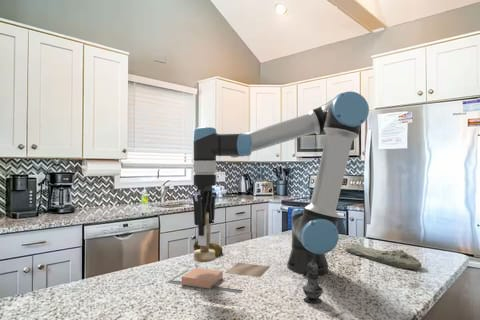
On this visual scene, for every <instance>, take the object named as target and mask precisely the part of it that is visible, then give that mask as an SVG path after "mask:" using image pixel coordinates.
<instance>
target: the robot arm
mask: <svg viewBox="0 0 480 320" xmlns="http://www.w3.org/2000/svg"><path fill="white" fill-rule="evenodd" d="M369 113H370V108H369V103H368V102H367V100H366V98H365V97H364V96H363V95H361V94H360V93H358V92H355V91H345V92H342V93H338V94H337V95H336V96H335V97H334V98H332V99H331V100H329V101H327V102H326V103H325V104H323V105H321V106H319V107H317V108H314V109H311V110H309V112H308V113H307V114H303V115H300V116H297V117H294V118H290V119H287V120H283V121H281V122H277V123H274V124H271V125H268V126H264V127H262V128H258V129H255V130H251V131H248V132H245V133H217V128H215V127H207V126H204V127H203V126H200V127H196V128H195V129H194V131H193V164H192V166H193V173H194V175H193V186H195V187H196V188H197V189H196V194H192V200H193V201H192V202H193V218H194V220H193V221H194V225H195V226H197V233H198V234H197V241H198V245H201V246H206V245H207V226H206V225H205V220H206V212H209V243H212V224H215V213H216V212H215V211H216V209H215V208H216V196H217V192H216V191H213V190H214V189H213V186H216V185H217V175H216V173H217V157H231V158H234V159H235V158H238V157H249V156H251V155H252V153H253V152H257V151H259V150H262V149H266V148H271V147H273V146H276V145H279V144H282V143H286V142H289V141H293V140H295V139H299V138H302V137H306V136H309V135H312V134H315V135H323V134H326V137H325V141H324V144H323V149H322V154H321V157H320V162H319V166H318V169H317V174H316V177H315V182H314V186H313V190H312V194H311V199H310V203H308V204H307V205H306V206H304V208H293V209H292V212H291V251H290V253H289V257H288V259H287V263H286V268H287V269H288V270H289V271H291V272H294V273H296V274H297V273H299V274H303V275H302V276H303V277H308V276H307V274H308V264H309V263H311V262H312V259H313V260H314V263H316V264H317V265H318V275H319V277H321V276H325V275H327V274H328V273H329V264H328V261H327V257H326V254H328V253H330V252H331V251H333V250H334V249H335V248H336V246H337V245H338V242H339V239H340V238H339V237H340V236H339V231H338V228H337V227H338V222H339V218H340V216H339V213H338V212H337V206H338V203H339V200H340V199H339V197H340V195H341V190H342V185H343V183H344V182H343V181H344V178H345V173H346V168H347V164H348V160H349V157H350V154H351V153H350V152H351V147H352V144H353V141H354V140H355V139H357V138H358V137H359V135H360V130H361V127H362V125H363V123H365V121H366V120H367V118H368V117H369Z"/></svg>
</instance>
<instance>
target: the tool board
mask: <svg viewBox="0 0 480 320" xmlns="http://www.w3.org/2000/svg"><path fill="white" fill-rule="evenodd" d="M270 267H271V266H270V265H262V264H253V263H246V262H245V263H242V262H237V263H236V264H234V265H233V266H232V267H230V268H229V269H228V270H226V272H225V274H232V275H239V276H241V275H242V276H249V277H254V278H255V277H256V278H261V277H262V276H263V275H264V274H265V272H267V270H268V269H269V268H270Z"/></svg>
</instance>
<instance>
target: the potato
mask: <svg viewBox="0 0 480 320" xmlns="http://www.w3.org/2000/svg"><path fill="white" fill-rule="evenodd" d="M199 249H200V245H198V240H196V241H195V242H194V243H193V250H194V251H195V250H199ZM209 249H212V250H215V257H218V256H221V255H222V254H223V250H224V249H223V247H222V246H221V245H219V244H217V243H213V242H211V243H209Z"/></svg>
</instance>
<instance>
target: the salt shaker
mask: <svg viewBox="0 0 480 320" xmlns="http://www.w3.org/2000/svg"><path fill="white" fill-rule="evenodd" d="M306 277H307V281H306V282H307V283H306V284H305V285H303V286H302V290H303V293H304V295H305V297H304V298H303V302H304V303H306V304H309V305H319V304H322V302H323V299H321V298H320V297H321V296H322V295H323V294H322V293H323V291H324V288H323V287H322V286H320V285H319V277H320V276H319V275H318V265H317V264H316V263H314V260H313V259H312V262H311V263H309V264H308V274H307V276H306Z"/></svg>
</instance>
